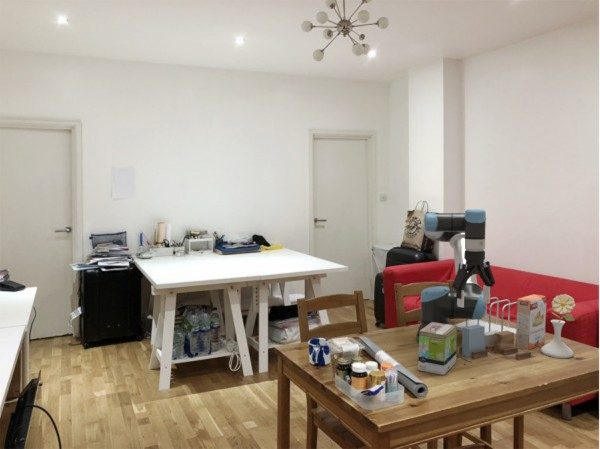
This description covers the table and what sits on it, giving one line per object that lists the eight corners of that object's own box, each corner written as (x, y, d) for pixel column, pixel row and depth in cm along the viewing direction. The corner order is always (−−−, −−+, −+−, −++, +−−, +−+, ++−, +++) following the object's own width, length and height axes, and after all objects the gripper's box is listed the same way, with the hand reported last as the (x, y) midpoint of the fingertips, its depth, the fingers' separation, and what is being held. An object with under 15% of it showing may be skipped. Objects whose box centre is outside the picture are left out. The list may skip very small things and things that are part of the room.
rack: (473, 349, 204) (473, 342, 204) (494, 344, 209) (494, 337, 209) (514, 364, 186) (514, 356, 186) (536, 359, 191) (536, 351, 191)
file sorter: (452, 329, 233) (452, 296, 232) (474, 323, 244) (474, 291, 242) (502, 342, 213) (503, 306, 212) (523, 334, 224) (524, 300, 223)
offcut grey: (480, 347, 202) (480, 333, 202) (496, 344, 206) (496, 330, 206) (487, 350, 199) (487, 335, 199) (503, 346, 203) (503, 332, 203)
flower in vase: (533, 353, 198) (535, 291, 196) (555, 350, 202) (557, 288, 200) (561, 364, 186) (563, 297, 184) (584, 360, 190) (586, 295, 188)
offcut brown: (493, 351, 198) (494, 332, 197) (506, 348, 201) (506, 330, 200) (501, 354, 194) (501, 335, 194) (513, 351, 198) (514, 332, 197)
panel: (462, 355, 194) (462, 327, 193) (477, 351, 197) (477, 324, 197) (468, 357, 191) (469, 329, 190) (484, 354, 194) (484, 326, 193)
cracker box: (529, 352, 199) (531, 300, 197) (515, 349, 203) (516, 298, 202) (545, 345, 208) (547, 295, 206) (531, 342, 212) (532, 293, 211)
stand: (455, 356, 195) (455, 347, 195) (474, 352, 200) (474, 343, 200) (471, 362, 188) (471, 353, 188) (490, 358, 193) (490, 349, 193)
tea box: (445, 376, 175) (445, 334, 174) (417, 370, 181) (417, 330, 180) (456, 363, 188) (457, 324, 187) (430, 358, 194) (430, 320, 192)
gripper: (457, 253, 182) (456, 310, 184) (505, 248, 194) (504, 302, 195) (442, 251, 189) (442, 306, 191) (490, 246, 200) (489, 299, 202)
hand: (473, 304), depth 193 cm, fingers open, 13 cm apart
